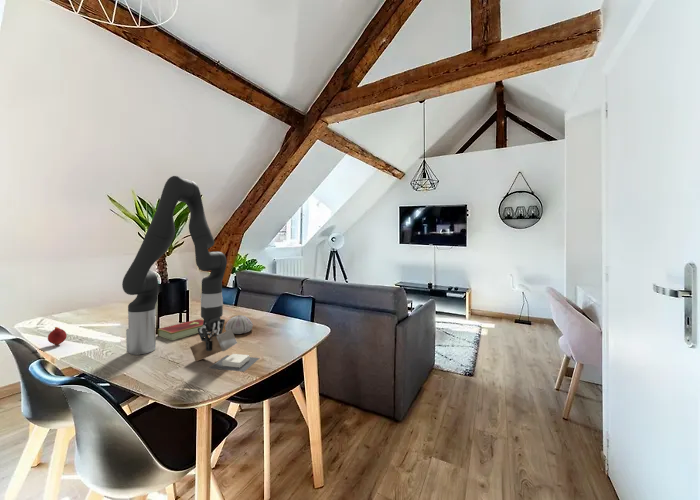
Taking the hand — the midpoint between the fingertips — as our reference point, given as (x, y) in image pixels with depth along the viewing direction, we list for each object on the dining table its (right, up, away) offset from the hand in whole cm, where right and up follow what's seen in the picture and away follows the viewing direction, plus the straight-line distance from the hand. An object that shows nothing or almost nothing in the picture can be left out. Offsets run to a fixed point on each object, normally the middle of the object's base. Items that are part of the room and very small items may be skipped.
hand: (212, 348), depth 114 cm
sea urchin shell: (-3, -4, +37) cm, 38 cm away
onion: (-73, -3, +14) cm, 75 cm away
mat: (+9, -5, -1) cm, 11 cm away
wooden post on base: (+1, -2, 0) cm, 2 cm away
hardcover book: (-28, -4, +34) cm, 45 cm away
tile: (+6, -4, -1) cm, 8 cm away
